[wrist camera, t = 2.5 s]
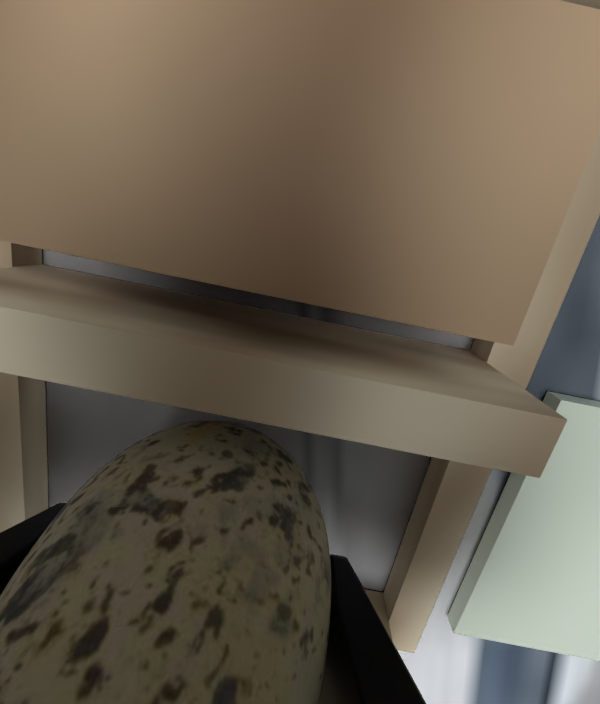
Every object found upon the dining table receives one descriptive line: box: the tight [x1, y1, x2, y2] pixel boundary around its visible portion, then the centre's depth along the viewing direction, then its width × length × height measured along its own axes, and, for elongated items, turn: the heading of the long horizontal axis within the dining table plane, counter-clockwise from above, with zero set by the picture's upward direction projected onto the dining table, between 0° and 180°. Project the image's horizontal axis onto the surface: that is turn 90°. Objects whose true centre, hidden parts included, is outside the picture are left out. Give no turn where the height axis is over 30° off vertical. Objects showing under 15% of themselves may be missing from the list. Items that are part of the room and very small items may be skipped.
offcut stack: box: [0, 0, 600, 346], centre depth 7 cm, size 11×5×4 cm, turn 79°
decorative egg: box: [0, 421, 331, 704], centre depth 7 cm, size 6×6×10 cm
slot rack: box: [0, 0, 600, 653], centre depth 8 cm, size 14×19×4 cm
